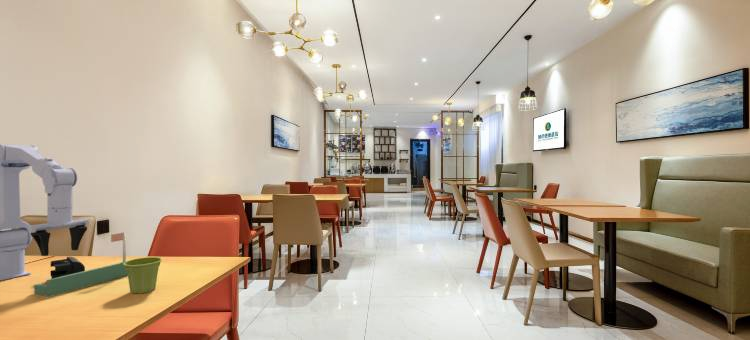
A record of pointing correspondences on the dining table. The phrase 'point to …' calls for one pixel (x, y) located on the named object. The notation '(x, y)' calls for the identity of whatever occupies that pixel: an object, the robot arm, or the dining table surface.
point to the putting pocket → (85, 275)
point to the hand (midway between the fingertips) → (60, 252)
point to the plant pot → (142, 274)
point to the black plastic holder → (66, 267)
